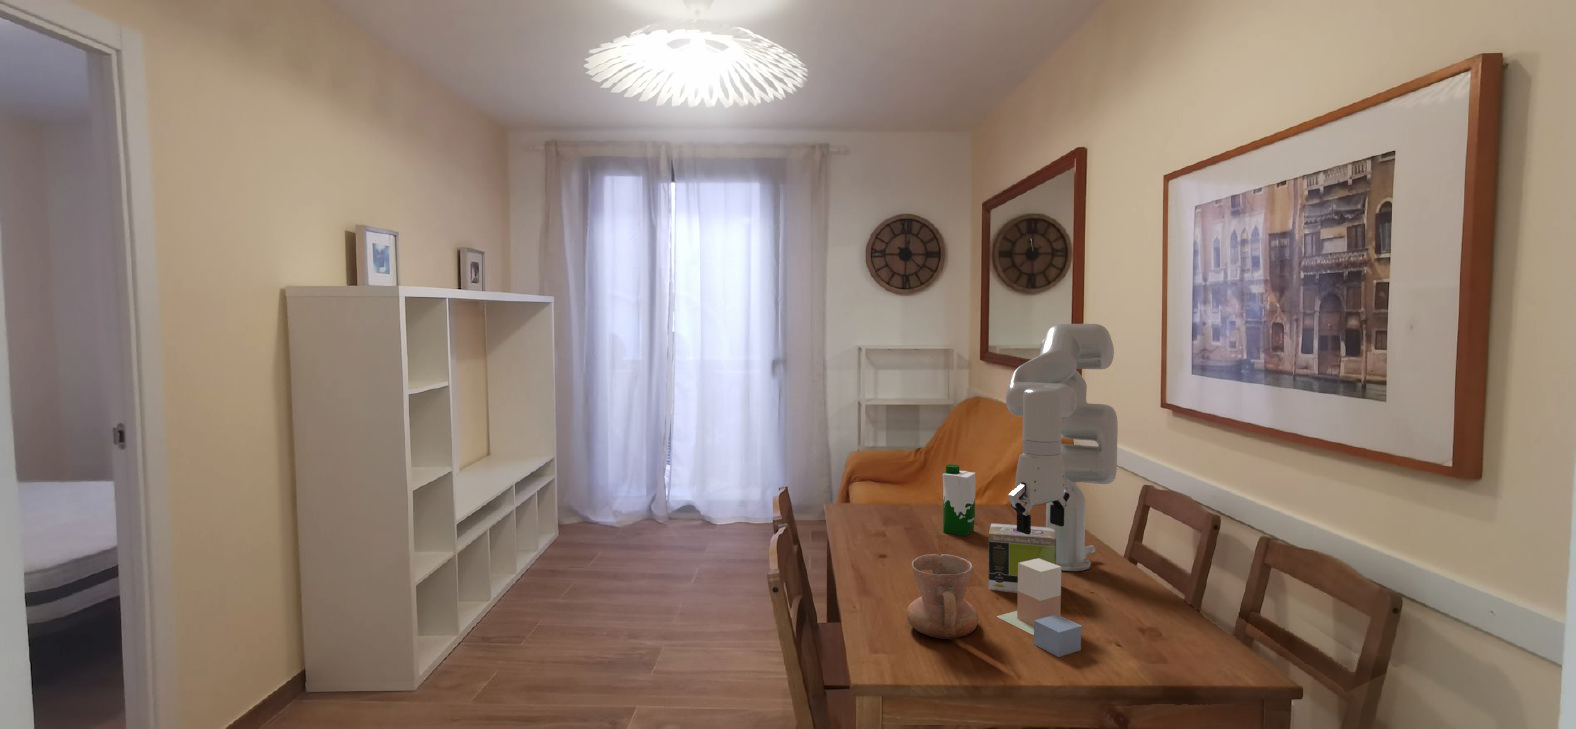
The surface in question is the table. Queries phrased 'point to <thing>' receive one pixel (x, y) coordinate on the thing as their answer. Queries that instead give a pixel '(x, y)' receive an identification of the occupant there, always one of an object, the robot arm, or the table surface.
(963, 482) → the milk carton
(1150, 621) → the table surface
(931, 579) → the ceramic jug
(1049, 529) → the tea box
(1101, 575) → the table surface
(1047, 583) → the cream brick
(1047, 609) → the terracotta brick
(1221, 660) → the table surface
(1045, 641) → the slate brick
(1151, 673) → the table surface
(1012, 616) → the plate
